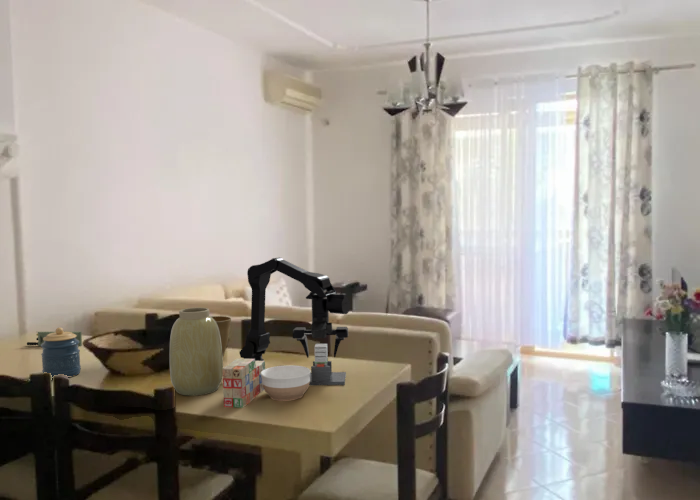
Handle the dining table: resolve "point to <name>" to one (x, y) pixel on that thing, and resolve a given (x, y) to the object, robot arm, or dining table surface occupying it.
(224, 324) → the plant pot
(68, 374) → the canister
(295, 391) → the bowl
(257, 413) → the dining table surface
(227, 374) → the stack of blocks
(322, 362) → the column
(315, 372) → the grey stepped stand
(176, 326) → the vase
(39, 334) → the handheld radio
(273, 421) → the dining table surface
